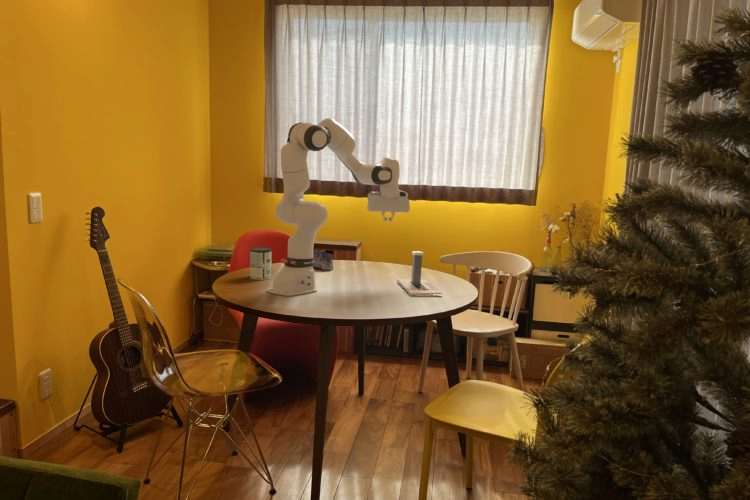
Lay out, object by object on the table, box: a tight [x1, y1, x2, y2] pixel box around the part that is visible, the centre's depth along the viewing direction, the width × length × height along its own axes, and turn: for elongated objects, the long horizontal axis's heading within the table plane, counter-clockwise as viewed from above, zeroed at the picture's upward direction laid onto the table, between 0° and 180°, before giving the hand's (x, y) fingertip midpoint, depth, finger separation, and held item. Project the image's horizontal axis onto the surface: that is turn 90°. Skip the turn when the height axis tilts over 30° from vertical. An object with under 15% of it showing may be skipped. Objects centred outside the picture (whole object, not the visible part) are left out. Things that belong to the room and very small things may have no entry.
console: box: [396, 278, 443, 296], centre depth 259 cm, size 28×14×2 cm, turn 10°
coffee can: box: [249, 246, 273, 281], centre depth 266 cm, size 10×10×14 cm
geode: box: [313, 249, 334, 272], centre depth 299 cm, size 20×12×10 cm, turn 30°
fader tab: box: [411, 250, 424, 286], centre depth 262 cm, size 4×4×16 cm
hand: (387, 221), depth 269 cm, fingers closed
